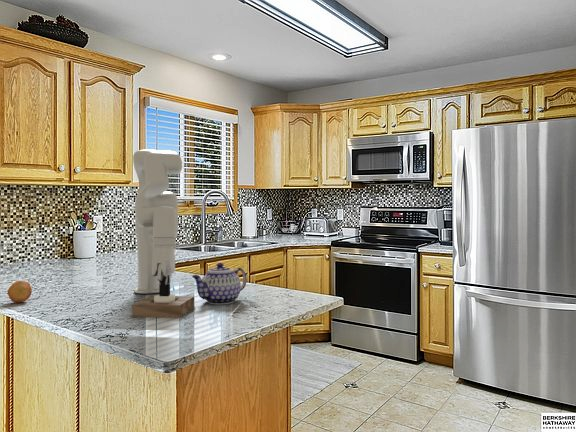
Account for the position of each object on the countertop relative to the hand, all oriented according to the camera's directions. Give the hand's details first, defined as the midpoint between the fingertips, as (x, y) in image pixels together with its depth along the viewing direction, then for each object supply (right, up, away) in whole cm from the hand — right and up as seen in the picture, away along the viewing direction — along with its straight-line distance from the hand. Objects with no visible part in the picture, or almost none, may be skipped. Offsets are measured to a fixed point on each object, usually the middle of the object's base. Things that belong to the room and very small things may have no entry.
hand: (164, 295), depth 158 cm
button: (0, -3, 0) cm, 4 cm away
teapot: (+17, -6, +18) cm, 25 cm away
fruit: (-63, -3, +22) cm, 66 cm away
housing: (0, -6, 0) cm, 6 cm away
